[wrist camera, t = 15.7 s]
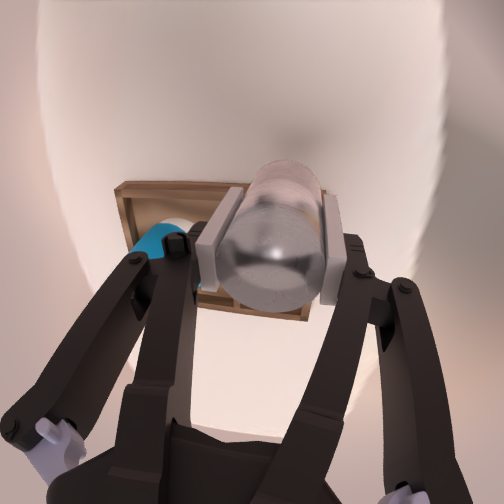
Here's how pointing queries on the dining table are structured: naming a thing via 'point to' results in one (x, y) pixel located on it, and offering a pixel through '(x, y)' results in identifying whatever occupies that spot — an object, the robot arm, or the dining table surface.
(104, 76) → the dining table surface
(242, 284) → the clear rounded cylinder
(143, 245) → the mug
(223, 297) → the tray
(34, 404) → the robot arm
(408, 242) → the dining table surface
